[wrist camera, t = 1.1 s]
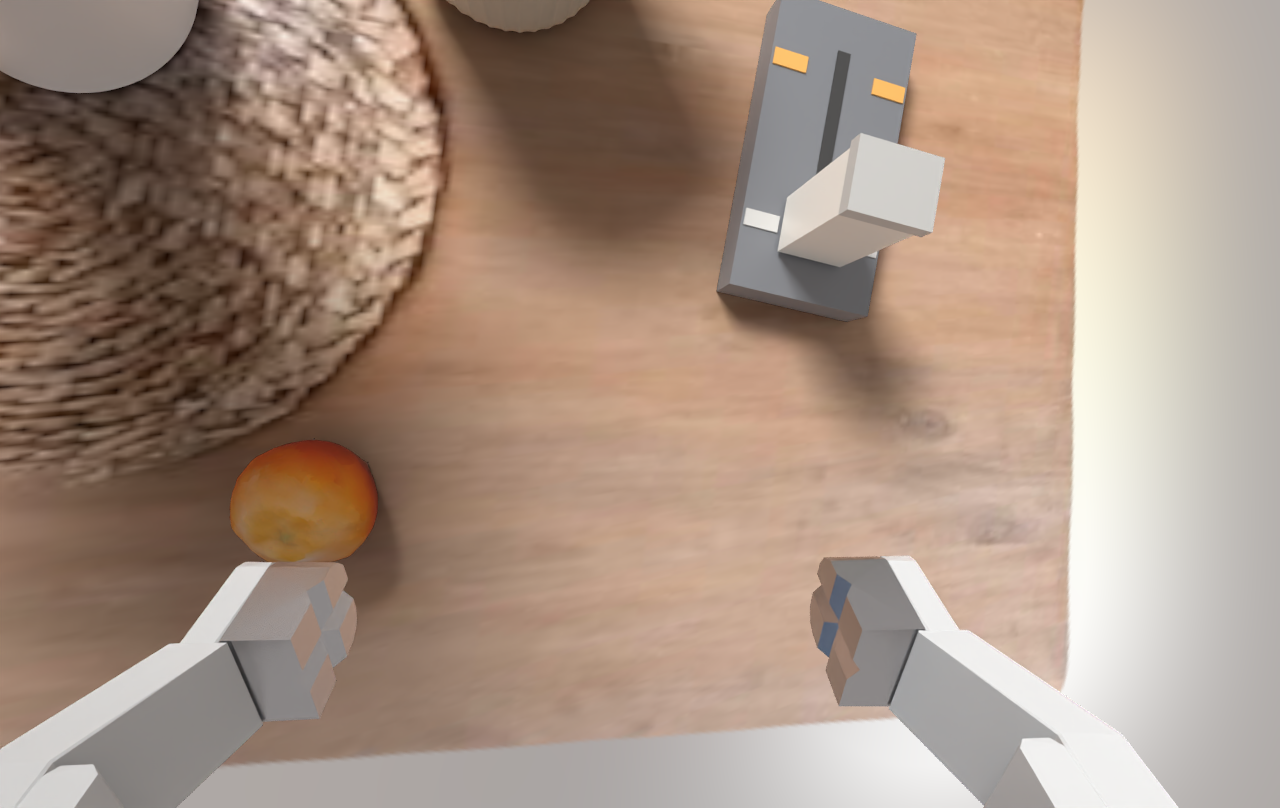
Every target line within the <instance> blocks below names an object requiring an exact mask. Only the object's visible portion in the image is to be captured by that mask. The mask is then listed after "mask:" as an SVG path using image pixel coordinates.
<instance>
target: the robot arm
mask: <svg viewBox="0 0 1280 808" xmlns="http://www.w3.org/2000/svg"><path fill="white" fill-rule="evenodd" d="M198 2H199V0H0V71H2V72H3V73H5V74H7V75H9V76H11V77H13V78H15V79H18V80H20V81H23V82H25V83H28V84H31V85H34V86H37V87H41V88H45V89H49V90H54V91H60V92H70V93H93V92H102V91H108V90H113V89H117V88H121V87H124V86H127V85H130V84H133V83H135V82H137V81H140V80H142V79H143V78H145V77H147V76H149V75H151V74H152V73H154V72H155V71H157V70H158V69H159V68H161V67H162V66H163V65H164V64H166V63H167V62H168V61H169V60H170V59H171V58H172V57H173V56H174V55H175V54H176V52H177V51H178V50H179V49H180V47H181V46H182V44H183V43H184V41H185V40H186V38H187V36H188V34H189V32H190V30H191V28H192V25H193V22H194V20H195V16H196V12H197V7H198ZM817 575H818V577H819V580H820V582H821V586H820V587H819V588H817V589H816V590H815V591H814V592H813V594H812V599H811V604H810V623H811V628H812V633H813V636H814V639H815V642H816V645H817V648H818V649H820V650H821V651H822V652H823V653H824V654H825V655H827V656H828V657H829V659H828V663H827V667H826V673H827V676H828V678H829V681H830V684H831V686H832V689H833V692H834V694H835V697H836V700H837V703H838V705H839V706H890V707H889V709H890V710H891V711H892V712H893V714H894V715H895V716H896V717H897V718H898V719H899V720H900V721H901V722H902V723H904V725H905V726H906V727H907V728H908V729H909V730H910V731H911V732H912V733H913V734H914V735H915V736H916V737H917V738H918V739H919V740H920V741H921V742H922V743H923V744H924V745H925V746H926V747H927V748H928V749H929V750H930V751H931V752H932V753H933V754H934V755H935V756H936V757H937V758H938V759H939V760H940V761H941V762H942V763H943V764H944V765H945V767H946V768H947V769H948V770H949V771H950V772H951V773H952V774H953V775H955V777H956V778H957V779H958V780H959V781H960V782H961V783H962V784H963V785H964V786H965V787H966V788H967V789H968V790H969V791H970V792H971V793H972V794H973V795H974V796H975V797H976V798H977V799H978V800H979V801H980V802H981V803H982V804H983V805H984V808H1178V806H1177V805H1176V804H1175V802H1174V801H1173V800H1172V799H1171V797H1170V796H1169V795H1168V793H1167V792H1166V791H1165V790H1164V788H1163V787H1162V785H1161V784H1160V783H1159V782H1158V780H1157V779H1156V778H1155V776H1154V775H1153V774H1152V772H1151V771H1150V770H1149V769H1148V767H1147V766H1146V765H1145V763H1144V762H1143V761H1142V760H1141V758H1140V757H1139V756H1138V754H1137V753H1136V752H1135V750H1134V749H1133V748H1132V747H1131V745H1130V744H1129V743H1128V741H1127V740H1126V739H1125V737H1124V736H1123V735H1122V734H1121V733H1120V732H1118V731H1117V730H1115V729H1114V728H1112V727H1111V726H1109V725H1108V724H1107V723H1105V722H1103V721H1102V720H1101V719H1099V718H1098V717H1096V716H1095V715H1093V714H1092V713H1090V712H1088V711H1087V710H1086V709H1084V708H1083V707H1081V706H1080V705H1078V704H1077V703H1075V702H1074V701H1073V700H1071V699H1070V698H1068V697H1067V696H1065V695H1064V694H1062V693H1061V692H1059V691H1058V690H1056V689H1055V688H1053V687H1052V686H1050V685H1049V684H1047V683H1046V682H1044V681H1043V680H1041V679H1040V678H1038V677H1037V676H1036V675H1034V674H1033V673H1031V672H1030V671H1028V670H1027V669H1025V668H1024V667H1022V666H1021V665H1019V664H1018V663H1016V662H1015V661H1013V660H1012V659H1010V658H1009V657H1007V656H1006V655H1004V654H1003V653H1001V652H1000V651H999V650H997V649H996V648H994V647H993V646H991V645H990V644H988V643H987V642H985V641H984V640H982V639H981V638H979V637H978V636H976V635H975V634H973V633H972V632H970V631H969V630H959V628H958V627H957V625H956V624H955V622H954V620H953V619H952V617H951V616H950V614H949V613H948V611H947V609H946V608H945V606H944V605H943V603H942V602H941V600H940V598H939V597H938V595H937V594H936V592H935V590H934V589H933V587H932V586H931V584H930V583H929V581H928V579H927V578H926V576H925V575H924V573H923V572H922V570H921V568H920V567H919V565H918V564H917V562H916V561H915V559H913V558H912V557H910V556H881V557H877V556H876V557H824V558H823V560H822V561H821V563H820V565H819V569H818V573H817ZM347 581H348V577H347V574H346V571H345V568H344V565H343V564H340V563H337V562H244V563H243V564H241V565H239V566H238V567H236V568H235V569H234V571H233V572H232V573H231V575H230V576H229V577H228V579H227V580H226V581H225V583H224V584H223V586H222V587H221V588H220V590H219V591H218V592H217V594H216V595H215V596H214V598H213V599H212V600H211V602H210V603H209V604H208V606H207V607H206V608H205V610H204V611H203V612H202V614H201V615H200V617H199V618H198V619H197V621H196V622H195V623H194V625H193V626H192V627H191V629H190V630H189V631H188V633H187V634H186V635H185V637H184V638H183V639H182V641H181V642H180V643H173V644H168V645H166V646H165V647H163V648H162V649H160V650H158V651H157V652H155V653H154V654H152V655H150V656H149V657H147V658H146V659H144V660H142V661H141V662H139V663H138V664H136V665H134V666H133V667H131V668H129V669H128V670H126V671H125V672H123V673H121V674H120V675H118V676H117V677H115V678H113V679H112V680H110V681H109V682H107V683H105V684H104V685H102V686H101V687H99V688H97V689H96V690H94V691H92V692H91V693H89V694H88V695H86V696H84V697H83V698H81V699H80V700H78V701H76V702H75V703H73V704H72V705H70V706H68V707H67V708H65V709H64V710H62V711H60V712H59V713H57V714H56V715H54V716H52V717H51V718H49V719H47V720H46V721H44V722H43V723H41V724H39V725H38V726H36V727H35V728H33V729H31V730H30V731H28V732H27V733H25V734H23V735H22V736H20V737H19V738H17V739H15V740H14V741H12V742H11V743H9V744H7V745H6V746H4V747H2V748H1V749H0V808H176V807H177V806H178V805H179V804H180V803H181V802H182V801H184V800H185V799H186V797H188V796H189V795H190V794H191V793H192V792H193V791H194V790H195V789H196V788H197V787H198V786H199V785H200V784H201V783H202V782H204V781H205V780H206V779H207V778H208V777H209V776H210V775H211V774H212V773H213V772H214V771H215V770H216V769H217V768H218V767H219V766H220V765H221V764H223V763H224V762H225V761H226V760H227V759H228V758H229V757H230V756H231V755H232V754H233V753H234V752H235V751H236V750H237V749H238V748H239V747H240V746H241V745H243V744H244V743H245V742H246V741H247V740H248V739H249V738H250V737H251V736H252V735H253V734H254V733H255V732H256V731H257V730H258V729H259V728H260V727H261V726H263V722H265V721H284V720H303V719H320V717H321V715H322V712H323V710H324V708H325V706H326V703H327V701H328V699H329V697H330V694H331V692H332V690H333V688H334V685H335V683H336V681H337V680H336V677H335V674H334V671H333V667H335V666H336V665H337V664H338V663H340V662H341V661H342V660H343V659H344V658H346V657H347V656H348V653H349V651H350V648H351V646H352V643H353V641H354V636H355V631H356V625H357V611H356V606H355V602H354V598H352V597H351V596H350V595H348V594H347V593H346V592H345V591H343V589H344V587H345V585H346V583H347Z"/></svg>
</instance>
